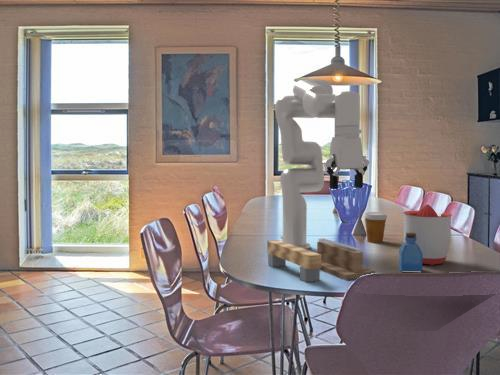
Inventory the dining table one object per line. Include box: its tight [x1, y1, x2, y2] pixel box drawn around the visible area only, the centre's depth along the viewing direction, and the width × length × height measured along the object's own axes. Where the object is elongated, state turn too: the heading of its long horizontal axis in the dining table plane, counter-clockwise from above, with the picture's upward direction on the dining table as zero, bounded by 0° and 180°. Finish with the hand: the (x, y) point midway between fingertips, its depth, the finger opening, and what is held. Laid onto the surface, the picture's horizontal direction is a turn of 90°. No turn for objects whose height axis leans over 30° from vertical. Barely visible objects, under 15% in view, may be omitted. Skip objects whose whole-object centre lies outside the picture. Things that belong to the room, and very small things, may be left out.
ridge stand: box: [316, 238, 376, 281], centre depth 150 cm, size 22×11×8 cm, turn 26°
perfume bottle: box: [398, 233, 423, 272], centre depth 149 cm, size 6×6×12 cm
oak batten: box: [266, 239, 321, 270], centre depth 147 cm, size 26×4×4 cm, turn 26°
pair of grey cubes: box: [267, 253, 321, 283], centre depth 147 cm, size 23×5×4 cm, turn 26°
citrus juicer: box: [403, 204, 453, 266], centre depth 161 cm, size 16×17×20 cm
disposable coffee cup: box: [363, 211, 388, 244], centre depth 197 cm, size 10×10×12 cm
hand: (346, 188), depth 144 cm, fingers open, 9 cm apart
